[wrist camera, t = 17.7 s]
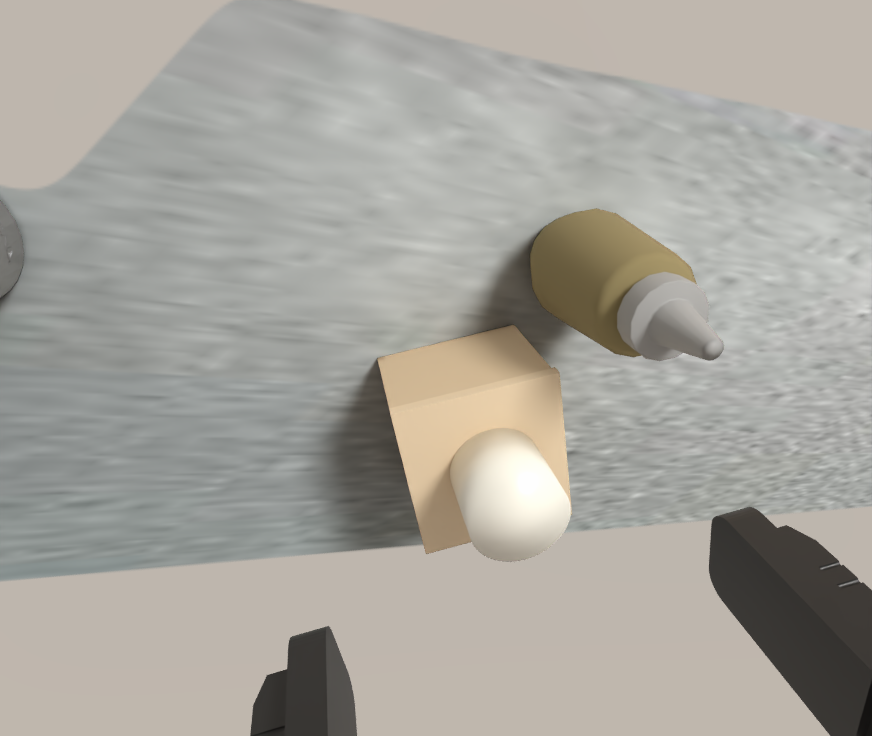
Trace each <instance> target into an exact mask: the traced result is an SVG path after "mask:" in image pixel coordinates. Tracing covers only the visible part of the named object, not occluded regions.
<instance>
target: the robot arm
mask: <svg viewBox="0 0 872 736" xmlns="http://www.w3.org/2000/svg"><path fill="white" fill-rule="evenodd" d="M23 259H24V248H23V242H22V236H21V234H20V231H19V229H18V226H17V224H16V221H15V219H14V218H13V216H12V215H11V213H10V212H9V210H8V209H7V207H6V205H5V204H4V203H3V202H2V201H1V200H0V298H1V297H2V296H3V295H5V294H6V293H7V292H8V291H10V290H11V288H12V287H13V285H14V284H15V283H16V281H17V280H18V278H19V275H20V273H21V270H22V267H23ZM711 527H712V528H711V543H710V559H709V573H710V578H711V581H712V583H713V586H714V588H715V590H716V592H717V594H718V595H719V597H720V598H721V599H722V601H723V602H724V603H725V605H726V606H727V607H728V609H729V610H730V611H731V612H732V613H733V615H734V616H735V617H736V619H737V620H738V621H739V622H740V624H741V625H742V626H743V627H744V629H745V630H746V631H747V632H748V634H749V635H750V636H751V637H752V639H753V640H754V641H755V642H756V644H757V645H758V646H759V647H760V648H761V650H762V651H763V652H764V653H765V655H766V656H767V657H768V658H769V660H770V661H771V662H772V663H773V665H774V666H775V667H776V668H777V670H778V671H779V672H780V673H781V675H782V676H783V677H784V678H785V680H786V681H787V682H788V683H789V685H790V686H791V687H792V688H793V690H794V691H795V692H796V693H797V694H798V696H799V697H800V698H801V700H802V701H803V702H804V703H805V705H806V706H807V707H808V708H809V710H810V711H811V712H812V713H813V715H814V716H815V717H816V718H817V720H818V721H819V722H820V723H821V725H822V726H823V727H824V728H825V730H826V731H827V732H828V733H829V734H830V736H872V590H871V589H870V588H869V587H867V586H866V585H865V584H864V583H860V582H859V580H858V578H857V577H856V576H855V575H854V574H853V573H852V572H851V571H849V570H848V569H847V568H846V567H845V566H844V565H842V566H841V565H840V563H839V561H838V560H837V559H836V558H835V557H834V556H833V555H832V554H831V553H829V552H828V551H827V550H826V549H825V548H824V547H823V546H822V545H820V544H819V543H818V542H817V541H816V540H814V539H812V538H810V537H808V536H806V535H804V534H803V533H801V532H799V531H797V530H795V529H793V528H791V527H789V526H787V525H786V526H782V527H779V528H776V527H775V526H774V525H773V524H772V523H771V522H770V521H769V520H768V519H767V518H766V517H765V516H764V515H763V514H762V513H760V512H759V511H758V510H756V509H755V508H752V507H747V508H744V509H740V510H737V511H733V512H730V513H726V514H723V515H719V516H716V517H714V518H713V520H712V526H711ZM251 736H357V730H356V716H355V703H354V696H353V690H352V685H351V681H350V677H349V674H348V671H347V669H346V666H345V664H344V661H343V659H342V656H341V653H340V651H339V648H338V646H337V643H336V641H335V638H334V636H333V633H332V631H331V629H330V627H329V626H327V627H324V628H320V629H317V630H313V631H310V632H306V633H303V634H299V635H296V636H292V637H291V638H290V640H289V647H288V667H287V670H283V671H280V672H276V673H273V674H270V675H267V677H266V679H265V681H264V683H263V686H262V687H261V690H260V692H259V694H258V697H257V698H256V701H255V703H254V705H253V715H252V725H251Z"/></svg>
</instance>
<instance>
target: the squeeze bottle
mask: <svg viewBox="0 0 872 736" xmlns="http://www.w3.org/2000/svg"><path fill="white" fill-rule="evenodd" d="M530 266H531V277H532V287H533V291H534V293H535V294H536V296H537V298H538V300H539V302H540V304H541V306H542V307H543V308H544V309H546V310H547V311H548V312H550V313H551V314H553V315H554V316H555V317H557V318H558V319H560V320H561V321H563V322H565V323H566V324H568V325H569V326H571V327H573V328H574V329H576V330H578V331H579V332H581V333H582V334H584V335H586V336H587V337H589V338H590V339H592V340H594V341H595V342H597V343H599V344H600V345H602V346H603V347H605V348H607V349H608V350H610V351H611V352H613V353H615V354H619V355H624V356H630V357H637V356H641V355H642V356H643V357H645V358H646V359H652V360H657V361H662V360H667V359H671V358H675V357H677V356H679V355H680V354H682V353H686V354H689V355H692V356H695V357H699V358H702V359H705V360H714V359H716V358H717V357H719V356H720V354H721V353H722V351H723V349H724V343H723V341H722V340H721V339H720V338H719V336H718V335H717V334H716V333H715V332H714V331H713V329H712V328H711V327H710V326H709V325H708V324H707V322H708V316H709V303H708V300H707V297H706V294H705V292H704V291H703V290H702V289H701V288H700V287H699V286H698V285H697V283H696V281H695V278H694V275H693V272H692V269H691V267H690V266H689V265H688V264H687V263H686V262H685V261H684V260H682V259H681V258H680V257H679V256H678V255H677V254H675V253H674V252H672V251H671V250H670V249H668V248H667V247H665V246H664V245H662V244H661V243H659V242H658V241H656V240H655V239H653V238H652V237H650V236H649V235H647V234H646V233H644V232H643V231H641V230H640V229H638V228H637V227H635V226H634V225H632V224H631V223H630V222H628V221H627V220H625V219H624V218H622V217H621V216H619V215H618V214H616V213H612V212H608V211H604V210H600V209H591V210H586V211H580V212H575V213H572V214H569V215H566V216H563V217H560V218H558V219H556V220H555V221H553V222H551V223H550V224H548V225H547V226H545V227H544V228H543V230H542V231H541V232H540V233H539V235H538V236H537V237H536V239H535V240H534V243H533V246H532V250H531V253H530Z"/></svg>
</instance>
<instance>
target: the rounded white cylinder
mask: <svg viewBox="0 0 872 736" xmlns="http://www.w3.org/2000/svg"><path fill="white" fill-rule="evenodd" d="M450 480H451V484H452V487H453V490H454V493H455V495H456V498H457V501H458V504H459V507H460V510H461V513H462V516H463V519H464V522H465V524H466V527H467V530H468V533H469V536H470V539H471V541H472V543H473V545H474V547H475V548H476V549H477V550H478V551H479V552H480V553H481V554H483V555H484V556H486V557H488V558H491V559H494V560H498V561H506V562H512V561H520V560H524V559H528V558H531V557H533V556H536V555H538V554H540V553H542V552H543V551H545V550H547V549H548V548H549V547H551V546H552V545H553V544H554V543H555V542H556V541H557V540H558V539H559V538H560V536H561V535H562V534H563V533H564V531H565V529H566V527H567V525H568V523H569V520H570V514H571V506H570V501H569V498H568V496H567V495H566V493H565V491H564V490H563V488H562V486H561V485H560V483H559V482H558V480H557V478H556V477H555V475H554V473H553V472H552V470H551V469H550V467H549V465H548V464H547V462H546V461H545V459H544V457H543V456H542V454H541V452H540V451H539V449H538V448H537V446H536V444H535V443H534V442H533V440H532V439H531V438H530V437H529V436H527V435H526V434H524V433H523V432H520V431H518V430H515V429H510V428H495V429H490V430H487V431H483V432H481V433H479V434H477V435H475V436H473V437H472V438H470V439H469V440H467V441H466V442H465V443H464V444H463V445H462V446H461V447H460V448H459V450H458V451H457V452H456V454H455V456H454V458H453V460H452V463H451V466H450Z"/></svg>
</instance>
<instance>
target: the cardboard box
mask: <svg viewBox="0 0 872 736" xmlns="http://www.w3.org/2000/svg"><path fill="white" fill-rule="evenodd" d="M377 359H378V363H379V368H380V372H381V376H382V380H383V385H384V389H385V393H386V397H387V401H388V406H389V408H393V407H397V406H401V405H405V404H409V403H413V402H417V401H421V400H425V399H429V398H433V397H437V396H441V395H445V394H449V393H453V392H457V391H461V390H465V389H469V388H473V387H477V386H481V385H486V384H490V383H494V382H498V381H502V380H506V379H510V378H514V377H518V376H522V375H526V374H530V373H534V372H538V371H542V370H546V369H550V368H551V367H550V366H549V365H548V364H547V363H546V362H545V360H544V359H543V358H542V357H541V356H540V355H539V353H538V352H537V351H536V350H535V349H534V348H533V346H532V345H531V344H530V343H529V342H528V341H527V339H526V338H525V337H524V336H523V335H522V334H521V332H520V331H519V330H518V329H517V328H516V327H515V325H510V326H506V327H502V328H498V329H494V330H490V331H486V332H482V333H477V334H473V335H469V336H465V337H461V338H457V339H453V340H449V341H445V342H441V343H437V344H433V345H429V346H425V347H421V348H416V349H412V350H408V351H404V352H400V353H396V354H392V355H388V356H384V357H380V358H377Z"/></svg>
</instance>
